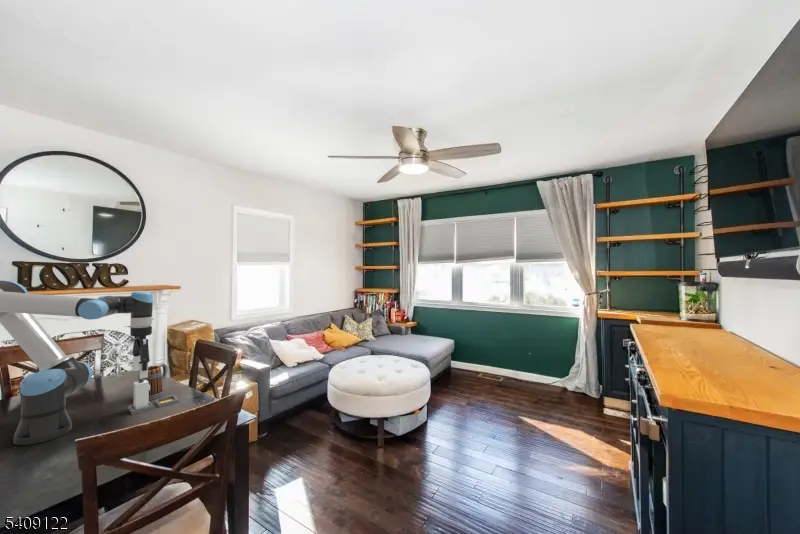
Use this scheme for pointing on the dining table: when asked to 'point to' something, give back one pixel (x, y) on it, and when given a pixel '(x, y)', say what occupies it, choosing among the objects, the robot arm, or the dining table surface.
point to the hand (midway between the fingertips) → (140, 374)
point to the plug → (141, 394)
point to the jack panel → (159, 403)
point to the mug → (156, 380)
